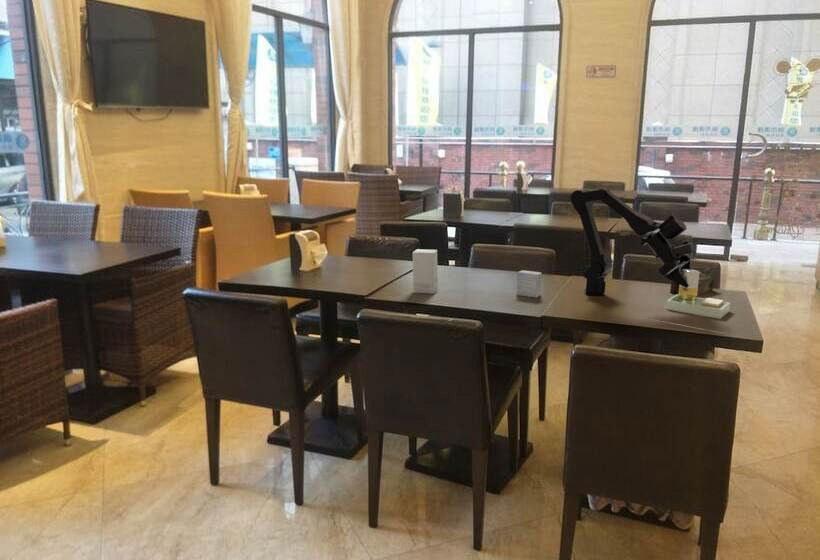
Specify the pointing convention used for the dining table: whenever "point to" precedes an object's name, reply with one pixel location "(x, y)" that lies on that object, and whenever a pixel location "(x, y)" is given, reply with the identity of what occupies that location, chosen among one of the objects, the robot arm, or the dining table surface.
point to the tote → (697, 308)
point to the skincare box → (425, 271)
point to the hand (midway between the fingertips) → (691, 284)
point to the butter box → (713, 303)
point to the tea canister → (689, 287)
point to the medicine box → (529, 283)
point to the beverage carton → (703, 284)
